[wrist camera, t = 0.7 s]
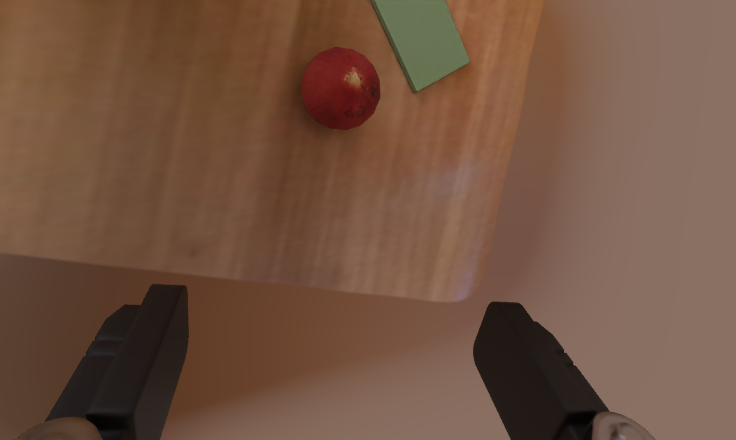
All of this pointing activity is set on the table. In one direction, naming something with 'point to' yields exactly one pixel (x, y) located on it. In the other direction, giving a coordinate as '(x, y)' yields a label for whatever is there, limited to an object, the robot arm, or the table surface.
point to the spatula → (422, 39)
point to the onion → (340, 88)
